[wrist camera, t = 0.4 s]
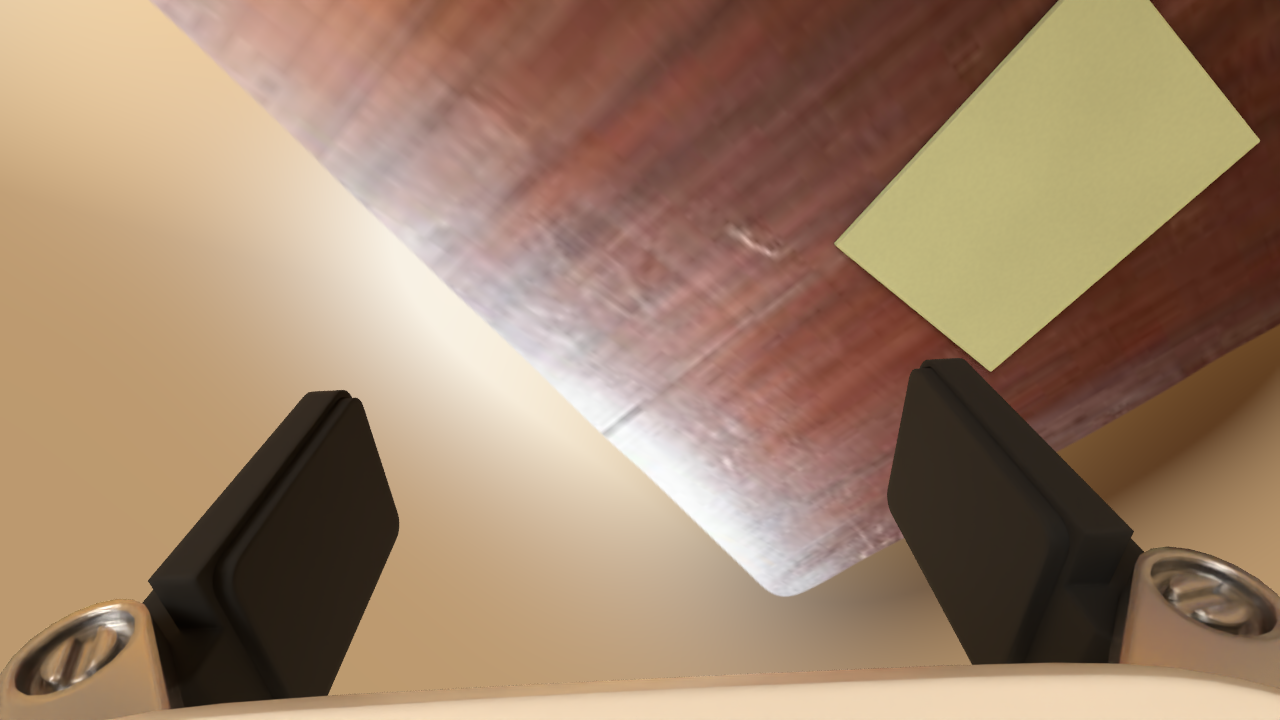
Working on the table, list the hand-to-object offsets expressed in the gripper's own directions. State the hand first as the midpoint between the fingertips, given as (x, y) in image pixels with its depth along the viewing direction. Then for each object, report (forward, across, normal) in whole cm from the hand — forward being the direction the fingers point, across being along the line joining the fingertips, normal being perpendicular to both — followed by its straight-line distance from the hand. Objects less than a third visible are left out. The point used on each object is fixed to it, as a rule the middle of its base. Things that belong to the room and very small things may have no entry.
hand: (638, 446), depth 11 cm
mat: (+30, -26, +4) cm, 40 cm away
